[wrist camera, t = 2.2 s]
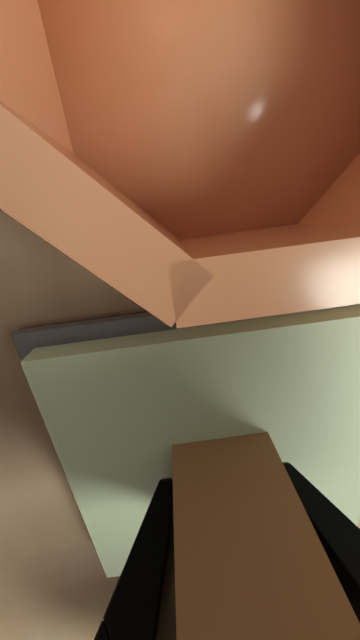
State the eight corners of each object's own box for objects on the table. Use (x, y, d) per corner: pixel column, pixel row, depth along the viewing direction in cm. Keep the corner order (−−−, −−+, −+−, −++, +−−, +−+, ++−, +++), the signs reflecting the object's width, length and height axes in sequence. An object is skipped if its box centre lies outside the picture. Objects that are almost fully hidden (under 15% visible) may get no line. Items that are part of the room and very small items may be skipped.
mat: (345, 518, 12) (351, 528, 11) (104, 551, 12) (102, 562, 11) (386, 279, 8) (397, 282, 7) (18, 329, 8) (11, 334, 7)
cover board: (341, 522, 11) (477, 756, 6) (111, 554, 11) (68, 811, 6) (377, 302, 7) (769, 453, 3) (34, 348, 7) (-210, 585, 3)
